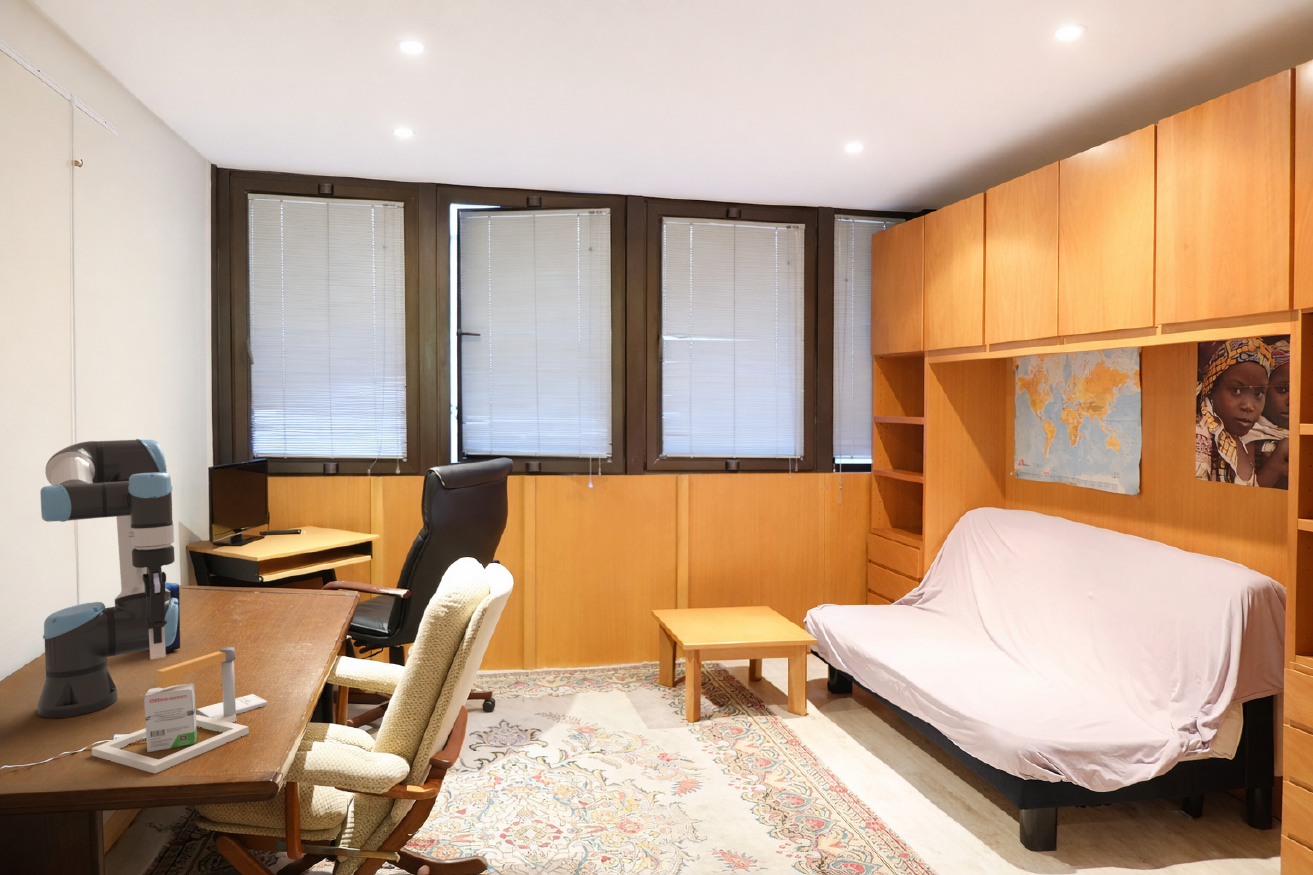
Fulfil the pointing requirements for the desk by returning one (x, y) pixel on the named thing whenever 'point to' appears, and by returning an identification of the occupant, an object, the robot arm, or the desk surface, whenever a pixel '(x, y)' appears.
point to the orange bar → (192, 667)
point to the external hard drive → (241, 704)
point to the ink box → (170, 717)
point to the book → (176, 594)
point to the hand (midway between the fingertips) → (157, 657)
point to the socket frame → (216, 724)
